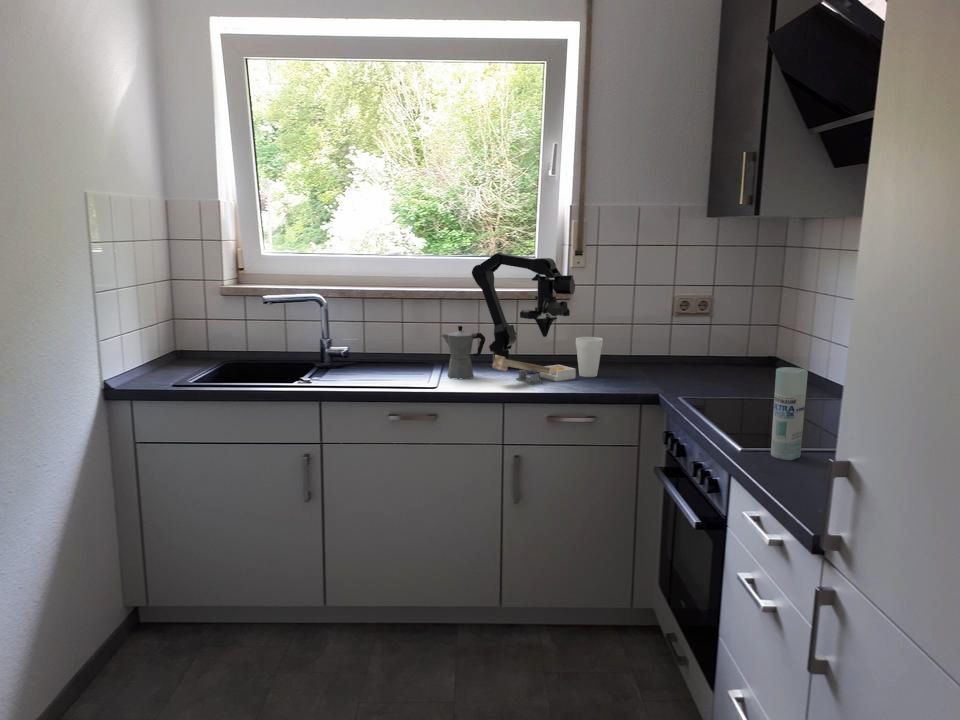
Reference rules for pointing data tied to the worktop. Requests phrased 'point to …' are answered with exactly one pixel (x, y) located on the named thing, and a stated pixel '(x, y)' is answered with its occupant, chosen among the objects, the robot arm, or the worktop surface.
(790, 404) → the spray paint can
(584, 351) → the foam cup
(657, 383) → the worktop surface
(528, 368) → the lever
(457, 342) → the coffeepot
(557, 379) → the dish
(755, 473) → the worktop surface
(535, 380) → the fulcrum
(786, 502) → the worktop surface
